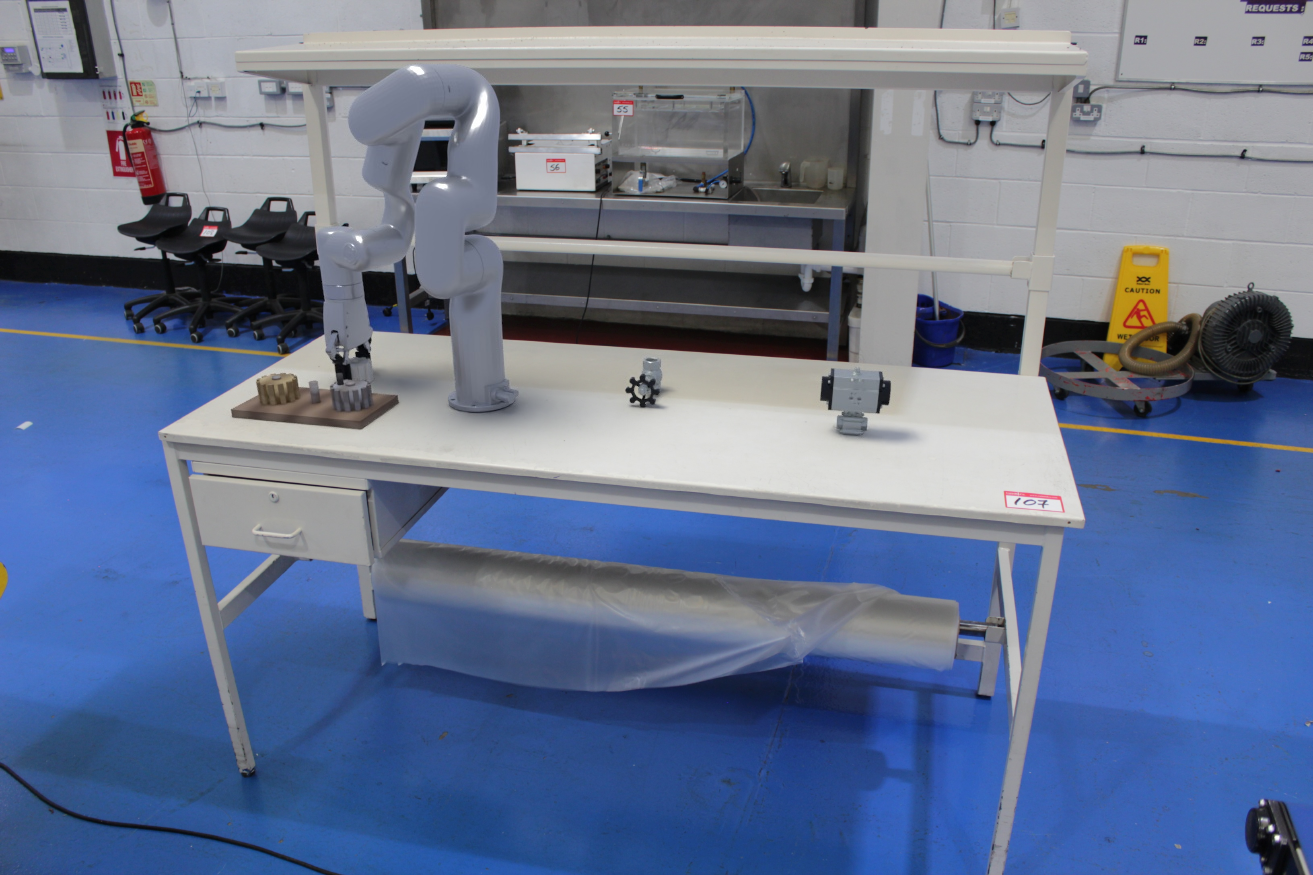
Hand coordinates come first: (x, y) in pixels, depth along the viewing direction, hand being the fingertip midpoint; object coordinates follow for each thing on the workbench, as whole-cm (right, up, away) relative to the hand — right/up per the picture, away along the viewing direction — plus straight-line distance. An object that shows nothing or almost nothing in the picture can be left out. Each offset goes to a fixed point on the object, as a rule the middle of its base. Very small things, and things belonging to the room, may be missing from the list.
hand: (354, 375), depth 180 cm
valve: (+60, -5, -8) cm, 61 cm away
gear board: (-2, -7, -15) cm, 17 cm away
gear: (0, -1, 0) cm, 1 cm away
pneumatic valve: (+97, -12, -24) cm, 100 cm away
